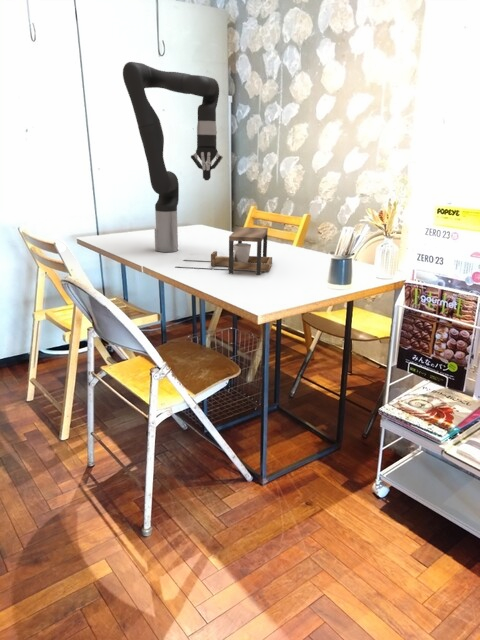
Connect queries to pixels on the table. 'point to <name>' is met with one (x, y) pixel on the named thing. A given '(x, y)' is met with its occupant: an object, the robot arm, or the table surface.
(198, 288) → the table surface
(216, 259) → the tray
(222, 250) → the table surface
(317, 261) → the table surface
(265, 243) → the small wooden stool
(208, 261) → the rails
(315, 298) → the table surface
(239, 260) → the cup
